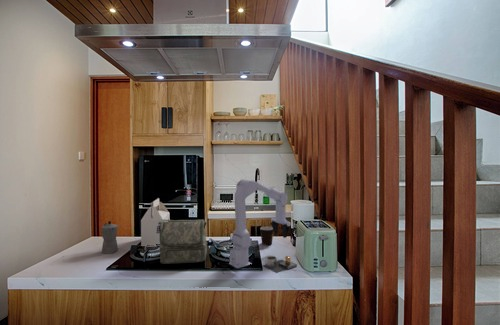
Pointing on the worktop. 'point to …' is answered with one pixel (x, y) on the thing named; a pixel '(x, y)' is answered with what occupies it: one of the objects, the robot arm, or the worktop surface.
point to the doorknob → (287, 263)
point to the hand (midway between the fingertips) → (280, 235)
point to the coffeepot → (109, 238)
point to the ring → (271, 261)
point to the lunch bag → (182, 241)
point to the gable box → (153, 223)
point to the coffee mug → (266, 235)
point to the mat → (276, 267)
